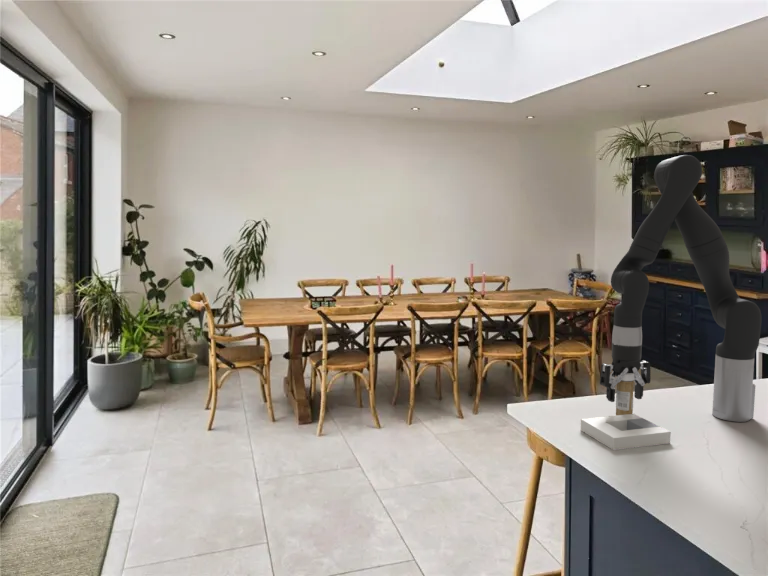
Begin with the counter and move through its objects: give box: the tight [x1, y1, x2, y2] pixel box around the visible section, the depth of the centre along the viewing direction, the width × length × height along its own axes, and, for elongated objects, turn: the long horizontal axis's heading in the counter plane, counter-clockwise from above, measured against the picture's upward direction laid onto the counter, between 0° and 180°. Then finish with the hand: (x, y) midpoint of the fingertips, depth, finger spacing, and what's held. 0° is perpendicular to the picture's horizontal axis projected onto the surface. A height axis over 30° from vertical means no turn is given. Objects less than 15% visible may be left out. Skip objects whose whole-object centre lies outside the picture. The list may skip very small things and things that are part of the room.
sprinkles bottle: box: [615, 373, 635, 416], centre depth 163 cm, size 5×5×14 cm
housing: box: [580, 413, 672, 451], centre depth 151 cm, size 16×14×3 cm
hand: (624, 399), depth 163 cm, fingers open, 8 cm apart
